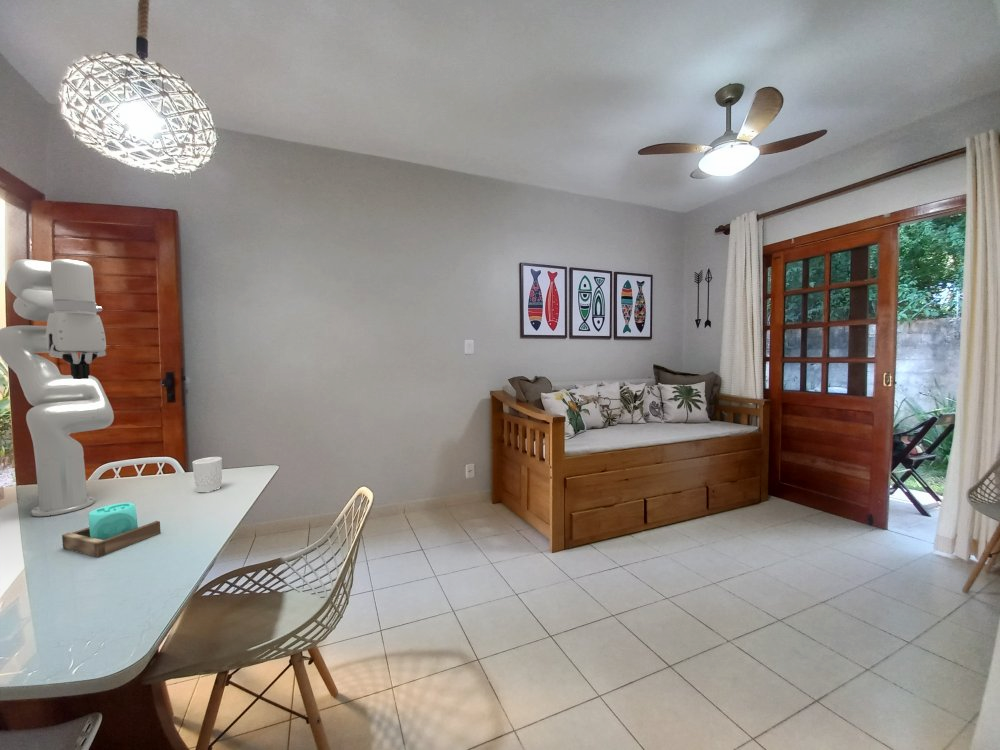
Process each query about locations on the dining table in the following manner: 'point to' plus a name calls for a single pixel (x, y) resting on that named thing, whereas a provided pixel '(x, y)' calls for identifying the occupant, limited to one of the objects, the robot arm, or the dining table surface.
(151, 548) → the dining table surface
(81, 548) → the corral
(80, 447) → the robot arm
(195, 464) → the white cup
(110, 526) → the decorative dice
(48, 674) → the dining table surface
